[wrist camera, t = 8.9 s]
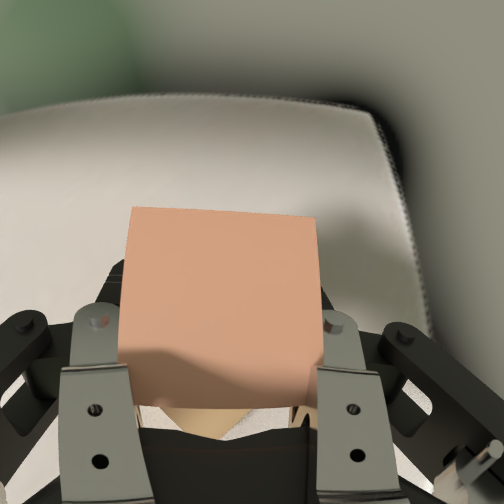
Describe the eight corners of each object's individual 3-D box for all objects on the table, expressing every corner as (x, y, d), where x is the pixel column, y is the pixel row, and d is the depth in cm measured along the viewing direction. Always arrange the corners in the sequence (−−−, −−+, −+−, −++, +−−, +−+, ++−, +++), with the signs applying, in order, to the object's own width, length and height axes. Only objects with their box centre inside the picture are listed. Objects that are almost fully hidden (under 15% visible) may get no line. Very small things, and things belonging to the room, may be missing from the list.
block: (165, 378, 13) (117, 402, 5) (167, 294, 15) (132, 206, 6) (251, 380, 14) (324, 403, 6) (250, 297, 15) (315, 217, 7)
